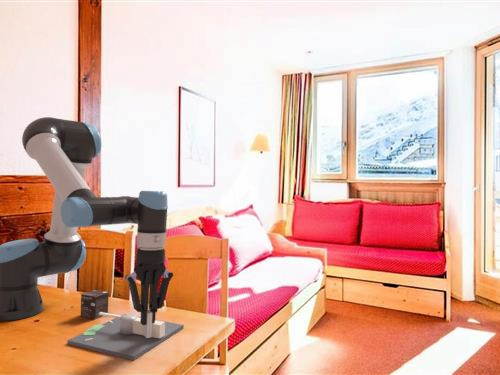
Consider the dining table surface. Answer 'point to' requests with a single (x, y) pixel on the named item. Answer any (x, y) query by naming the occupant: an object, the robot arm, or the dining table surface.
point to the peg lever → (137, 325)
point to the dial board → (120, 339)
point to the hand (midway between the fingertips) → (147, 336)
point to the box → (94, 304)
